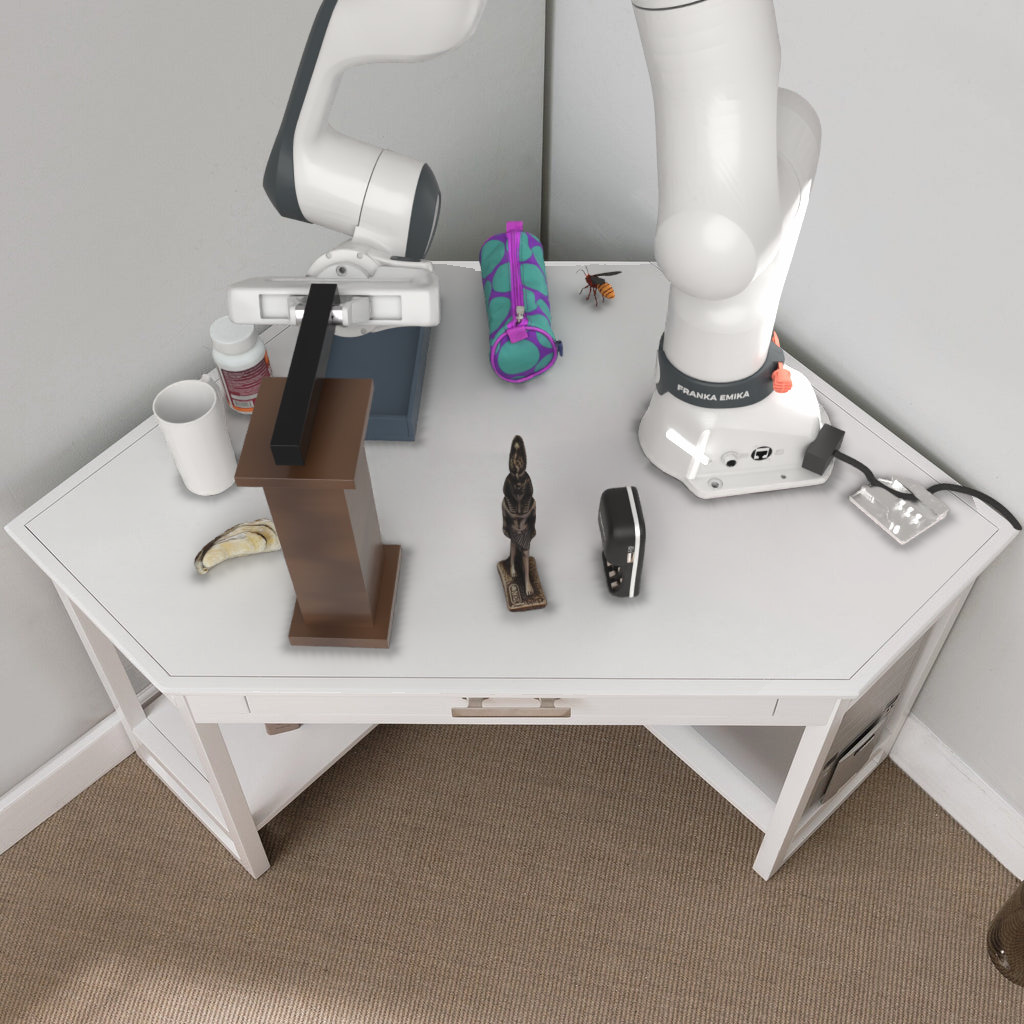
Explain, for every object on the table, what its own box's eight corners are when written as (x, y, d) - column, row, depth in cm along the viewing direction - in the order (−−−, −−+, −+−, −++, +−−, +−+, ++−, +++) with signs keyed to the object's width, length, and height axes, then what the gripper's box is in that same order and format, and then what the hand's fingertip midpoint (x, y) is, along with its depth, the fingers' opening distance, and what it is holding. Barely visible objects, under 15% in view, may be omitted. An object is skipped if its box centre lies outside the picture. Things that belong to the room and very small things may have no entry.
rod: (341, 303, 99) (337, 283, 97) (304, 466, 86) (299, 445, 84) (315, 303, 99) (311, 283, 97) (275, 465, 86) (269, 445, 85)
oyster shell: (235, 589, 118) (298, 529, 116) (228, 602, 114) (293, 540, 113) (193, 553, 116) (257, 491, 115) (186, 565, 113) (251, 501, 111)
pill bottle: (288, 398, 131) (270, 327, 122) (246, 424, 128) (225, 353, 119) (258, 373, 133) (238, 303, 125) (217, 398, 131) (194, 328, 122)
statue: (508, 618, 110) (503, 493, 94) (494, 564, 114) (486, 436, 99) (548, 610, 110) (549, 484, 95) (532, 557, 115) (530, 428, 99)
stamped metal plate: (946, 517, 117) (950, 508, 116) (901, 546, 115) (905, 537, 113) (891, 472, 121) (895, 463, 120) (848, 499, 119) (851, 491, 118)
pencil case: (562, 385, 131) (564, 325, 124) (490, 391, 131) (487, 331, 123) (544, 277, 144) (544, 217, 137) (478, 282, 144) (475, 222, 136)
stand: (402, 553, 115) (372, 378, 95) (388, 648, 108) (353, 480, 87) (310, 551, 116) (262, 376, 96) (290, 645, 108) (233, 477, 88)
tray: (434, 301, 141) (432, 279, 138) (414, 441, 126) (411, 419, 123) (335, 300, 142) (331, 277, 139) (303, 439, 126) (297, 416, 123)
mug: (227, 502, 120) (201, 428, 111) (172, 493, 121) (141, 419, 112) (259, 438, 126) (237, 363, 117) (206, 430, 127) (180, 355, 118)
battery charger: (593, 549, 115) (597, 480, 106) (628, 546, 115) (635, 477, 106) (603, 603, 111) (608, 535, 102) (639, 599, 111) (648, 532, 102)
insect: (595, 291, 143) (590, 257, 140) (626, 305, 139) (623, 271, 136) (573, 303, 142) (569, 270, 138) (605, 318, 138) (601, 284, 134)
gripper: (245, 258, 108) (200, 280, 95) (447, 260, 106) (430, 281, 94) (251, 321, 110) (208, 350, 97) (449, 323, 109) (432, 352, 96)
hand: (319, 316), depth 95 cm, fingers closed on rod, 2 cm apart
